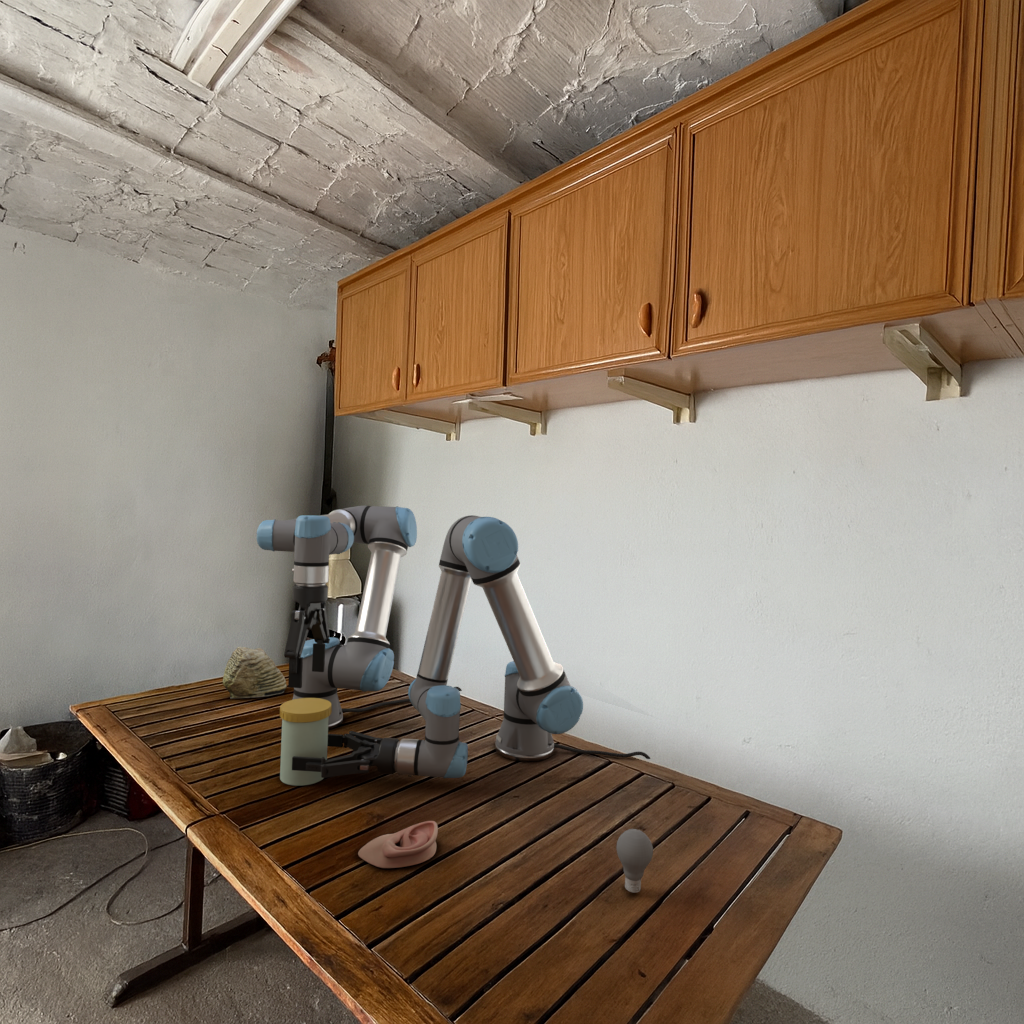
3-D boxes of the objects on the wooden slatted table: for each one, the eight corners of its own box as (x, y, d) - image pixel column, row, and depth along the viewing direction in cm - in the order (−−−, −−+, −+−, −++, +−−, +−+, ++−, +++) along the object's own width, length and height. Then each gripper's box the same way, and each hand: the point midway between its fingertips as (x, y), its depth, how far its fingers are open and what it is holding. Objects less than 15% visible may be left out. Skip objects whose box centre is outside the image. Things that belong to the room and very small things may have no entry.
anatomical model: (350, 840, 110) (378, 809, 121) (349, 863, 110) (377, 829, 121) (423, 852, 107) (444, 819, 118) (422, 875, 107) (443, 840, 118)
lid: (310, 702, 151) (310, 694, 151) (341, 713, 144) (342, 704, 144) (269, 714, 142) (269, 705, 142) (300, 726, 135) (301, 717, 135)
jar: (307, 762, 150) (310, 697, 150) (335, 774, 145) (338, 706, 144) (270, 776, 142) (273, 707, 142) (298, 790, 136) (301, 718, 136)
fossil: (218, 695, 195) (220, 647, 195) (278, 685, 208) (279, 640, 207) (228, 703, 189) (230, 653, 188) (289, 692, 201) (290, 645, 201)
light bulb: (610, 879, 108) (613, 822, 108) (644, 879, 109) (647, 822, 109) (619, 902, 102) (622, 840, 102) (655, 901, 103) (658, 840, 103)
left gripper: (315, 576, 155) (312, 664, 155) (269, 590, 131) (265, 694, 131) (345, 578, 154) (342, 666, 155) (304, 592, 130) (300, 696, 130)
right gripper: (383, 799, 129) (281, 792, 130) (408, 751, 154) (322, 745, 155) (385, 762, 129) (282, 756, 130) (410, 720, 154) (324, 715, 155)
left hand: (307, 679), depth 143 cm, fingers open, 12 cm apart
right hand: (304, 750), depth 142 cm, fingers open, 13 cm apart
